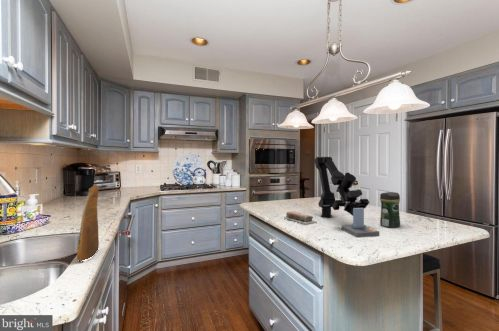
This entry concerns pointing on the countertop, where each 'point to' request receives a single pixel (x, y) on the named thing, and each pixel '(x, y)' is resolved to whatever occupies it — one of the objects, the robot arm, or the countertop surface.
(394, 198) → the coffee jar
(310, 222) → the packaged product
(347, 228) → the switch box
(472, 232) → the countertop surface
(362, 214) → the switch lever
